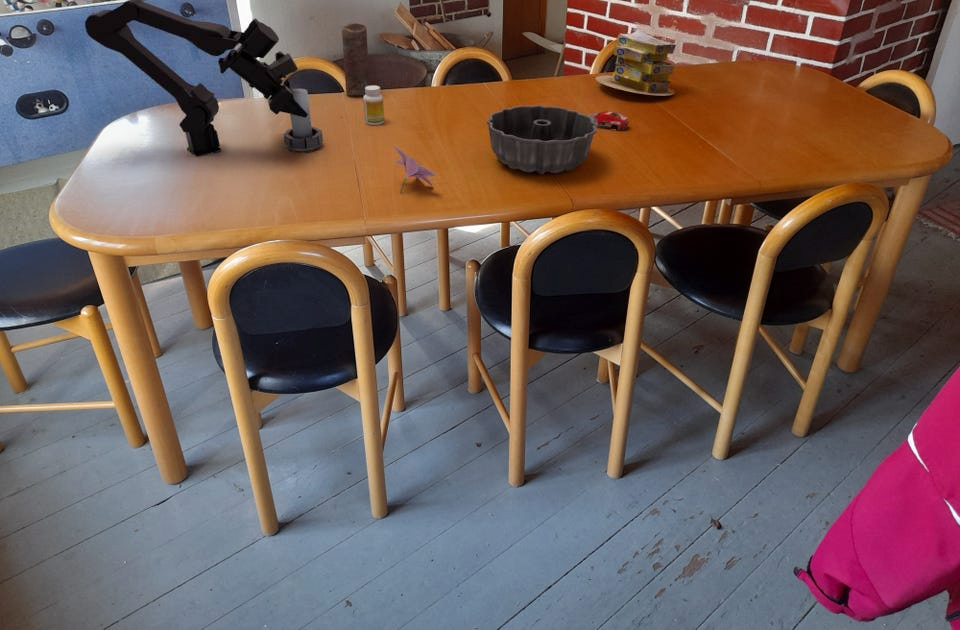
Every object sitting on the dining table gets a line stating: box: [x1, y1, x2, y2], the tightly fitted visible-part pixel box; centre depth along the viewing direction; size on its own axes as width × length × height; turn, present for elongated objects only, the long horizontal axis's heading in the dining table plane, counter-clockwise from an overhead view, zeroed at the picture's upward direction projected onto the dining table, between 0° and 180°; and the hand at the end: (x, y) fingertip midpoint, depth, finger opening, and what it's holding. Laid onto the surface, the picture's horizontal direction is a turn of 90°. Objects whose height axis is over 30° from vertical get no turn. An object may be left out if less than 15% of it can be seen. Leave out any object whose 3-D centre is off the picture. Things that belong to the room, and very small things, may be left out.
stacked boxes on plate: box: [595, 29, 677, 96], centre depth 215 cm, size 25×25×17 cm
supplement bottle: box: [362, 85, 385, 126], centre depth 191 cm, size 5×5×10 cm
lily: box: [392, 144, 438, 194], centre depth 155 cm, size 12×12×10 cm
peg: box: [289, 88, 313, 138], centre depth 174 cm, size 5×5×12 cm
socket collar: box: [282, 126, 324, 154], centre depth 177 cm, size 9×9×4 cm
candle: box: [341, 22, 371, 97], centre depth 208 cm, size 8×7×20 cm
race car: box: [584, 110, 629, 131], centre depth 192 cm, size 13×5×4 cm, turn 65°
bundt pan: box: [486, 104, 599, 175], centre depth 169 cm, size 26×26×10 cm
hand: (305, 112), depth 174 cm, fingers closed on peg, 5 cm apart
